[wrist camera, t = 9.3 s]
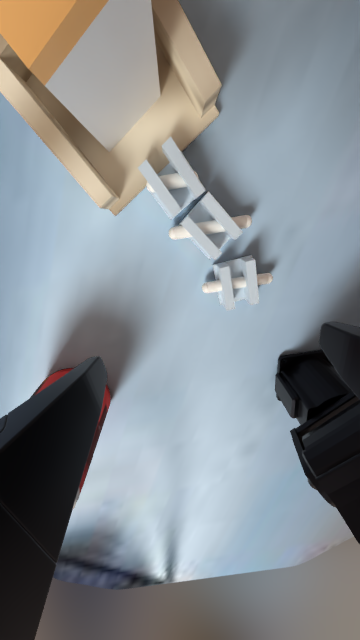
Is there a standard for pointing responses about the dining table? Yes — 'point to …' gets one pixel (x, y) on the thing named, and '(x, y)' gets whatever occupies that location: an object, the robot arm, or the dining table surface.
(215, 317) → the dining table surface
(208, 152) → the dining table surface
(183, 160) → the clip
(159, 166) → the holder
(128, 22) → the orange-topped block
